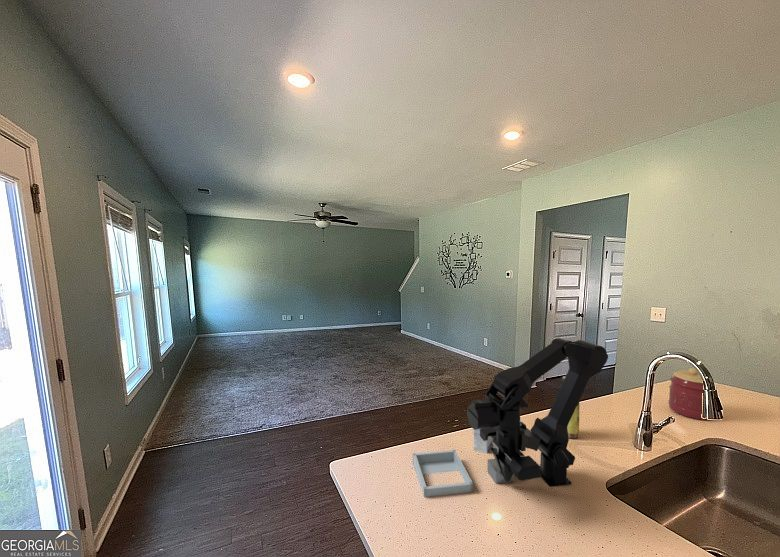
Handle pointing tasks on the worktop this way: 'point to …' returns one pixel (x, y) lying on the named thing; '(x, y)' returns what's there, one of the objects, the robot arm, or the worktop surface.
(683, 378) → the canister
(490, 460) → the block
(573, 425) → the sauce bottle
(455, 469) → the tray
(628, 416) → the worktop surface
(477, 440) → the medicine box
